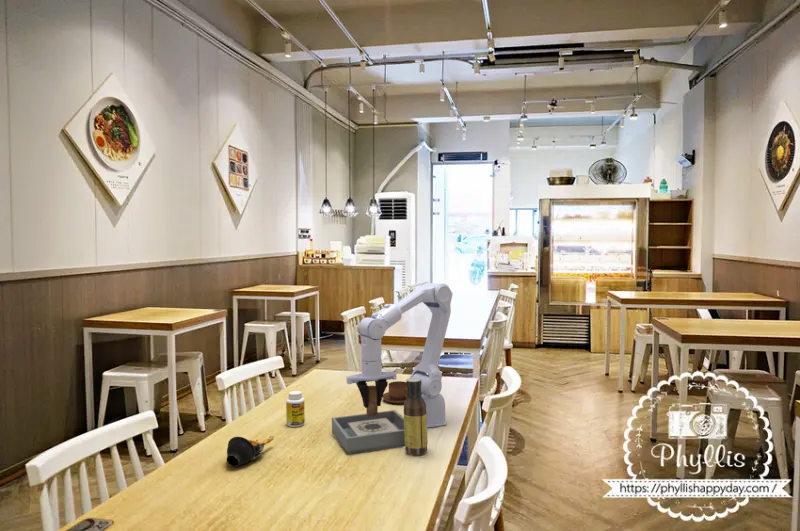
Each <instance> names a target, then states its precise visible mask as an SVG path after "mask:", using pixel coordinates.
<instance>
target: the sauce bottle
mask: <svg viewBox="0 0 800 531" xmlns="http://www.w3.org/2000/svg"><path fill="white" fill-rule="evenodd" d="M405 382H406V384H407V391H408V393H407V395H408V396H407V399H406V401H405V403H403V418H404V438H405V447H404V449H405V450H404V451H405V452H406V454H408V455H411V456H415V457H416V456H417V457H418V456H422V455H425V454H427V452H428V441H429V440H428V428H427V413H426V404H425V401H424V400H423V398H422V397H421V396H422V393H421V384H422V383H421V379H420V378H410V377H409V378H407V379H406V381H405Z"/></svg>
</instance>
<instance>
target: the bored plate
mask: <svg viewBox="0 0 800 531" xmlns="http://www.w3.org/2000/svg"><path fill="white" fill-rule="evenodd" d="M397 430H398V429H397V428H396V427H395V426H394V425H393V424H392V423H391V422H390V421H389V420H388V419H387V418H380V419H372V420H364V421H356V422H348V423H347V431H348V432H349V434H350V435H351V436H352V437H354V436H361V435H368V434H375V433H383V432H390V431H397Z"/></svg>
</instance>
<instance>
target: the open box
mask: <svg viewBox="0 0 800 531" xmlns="http://www.w3.org/2000/svg"><path fill="white" fill-rule="evenodd" d="M380 418H387V419H388V420H389V421H390V422H391V423H392V424H393V425H394V426H395V427H396V428H397V429H398V430H397V431H390V432H383V433H375V434H368V435H361V436H354V437H352V436H351V435H350V434H349V432H348V431H347V423H348V422H356V421H364V420H372V419H380ZM331 434H332V435H333V436H334V438H335V440H336V441H337V442H338V444H339V446H340V447H341V448H342V450H343V451H344V453H345V454H346V456H352V455H357V454H364V453H371V452H377V451H378V452H379V451H383V450H390V449H397V448H405V438H404V416H402V414H400V413H399V412H398V411H397V410H395V409H393V410H392V409H391V410H385V411H378V415H376V416H368V415H367V413H360V414H352V415H343V416H338V417H337V416H335V417H331Z"/></svg>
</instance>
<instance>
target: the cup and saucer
mask: <svg viewBox="0 0 800 531" xmlns="http://www.w3.org/2000/svg"><path fill="white" fill-rule="evenodd" d="M407 393H408V391H407V384H406V381H398V380H397V381H396V380H395V381H392V382H388V392H384V394H383V397H382V399H383V400H384V401H385V402H387V403H390V404H404V403H405V401H406V399H407V396H408V395H407Z"/></svg>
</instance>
